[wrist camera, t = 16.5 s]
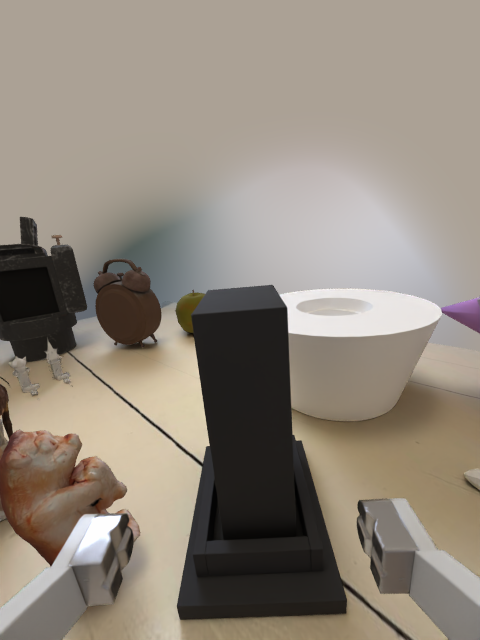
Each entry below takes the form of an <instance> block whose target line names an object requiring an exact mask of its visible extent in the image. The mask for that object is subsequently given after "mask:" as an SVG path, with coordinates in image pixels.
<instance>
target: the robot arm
mask: <svg viewBox="0 0 480 640" xmlns="http://www.w3.org/2000/svg"><path fill="white" fill-rule="evenodd" d="M358 511H359V513H360V516H359V517H358V518H357V529H358V535H359V539H360V542H361V545H362V548H363V550H364V552H365V553H366V554H367V555H368V556H369V557H370V558H371V565H370V569H371V571H372V574H373V576H374V579H375V581H376V584H377V586H378V589H379V591H380V594H409V596H410V597H411V598H412V599H413V600H414V601H415V602H416V604H417V605H418V606H419V607H420V608H421V609H422V610H423V611H424V612H425V614H426V615H427V616H428V617H429V618H430V619H431V620H432V621H433V622H434V624H435V625H436V626H437V627H438V628H439V629H440V630H441V631H442V632H443V634H444V635H445V636H446V637H447V638H448V639H449V640H480V578H479V577H478V576H477V575H475V574H474V573H473V572H472V571H470V570H469V569H468V568H466V567H465V566H464V565H462V564H461V563H460V562H459V561H457V560H456V559H455V558H453V557H452V556H451V555H450V554H448V553H447V552H446V551H444V550H438V548H437V547H436V545H435V544H434V542H433V540H432V539H431V537H430V536H429V534H428V533H427V531H426V529H425V528H424V526H423V525H422V523H421V521H420V520H419V518H418V517H417V515H416V514H415V512H414V510H413V509H412V507H411V506H410V504H409V503H408V501H407V500H406V499H405V498H393V499H387V498H385V499H371V500H359V502H358ZM128 523H129V517H128V514H127V513H115V514H84V515H83V516H82V517H81V518H80V519H79V521H78V522H77V524H76V526H75V527H74V529H73V531H72V532H71V534H70V536H69V537H68V539H67V541H66V542H65V544H64V546H63V547H62V549H61V551H60V553H59V554H58V556H57V558H56V559H55V561H54V563H53V564H52V566H51V567H48V568H45V569H44V570H43V571H42V572H41V573H40V574H39V575H37V576H36V577H35V578H34V579H33V580H32V581H31V582H29V583H28V584H27V585H26V586H25V587H24V588H23V589H21V590H20V591H19V592H18V593H17V594H16V595H15V596H13V597H12V598H11V599H10V600H9V601H8V602H7V603H5V604H4V605H3V606H2V607H1V608H0V640H62V639H63V638H64V637H65V635H66V634H67V633H68V632H69V630H70V629H71V628H72V627H73V625H74V624H75V623H76V622H77V620H78V619H79V618H80V617H81V615H82V614H83V613H84V611H85V610H86V609H87V606H97V605H110V604H114V602H115V599H116V596H117V593H118V590H119V588H120V585H121V582H122V579H123V577H122V573H121V570H122V569H123V568H124V567H125V566H126V565H127V564H128V563H129V560H130V557H131V554H132V549H133V543H134V535H133V531H132V529H131V528H130V527H129V526H127V525H128Z"/></svg>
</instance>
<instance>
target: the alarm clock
mask: <svg viewBox="0 0 480 640" xmlns="http://www.w3.org/2000/svg"><path fill="white" fill-rule="evenodd" d="M113 262H125V263H128V264H129V265H130V266H131V268H132V269H133V270H130V271H128V272H126V273H125V275H124V274H123V273H118V274H117V275H115V274H113V273H107V269H108V266H109V264H111V263H113ZM141 270H142V269H141V267H138V268H137V267H136V266H135V265H134V263H133V262H132V261H130V260H127V259H114V260H109V261H107V262H106V263H105V264H104V267H103V272H101V271H99V272H98V274H99V276H98V277H97V278H96V279H95V281H94V288H95V290H96V292H97V293H98V295H97V299H96V314H97V318H98V320H99V323H100V325H101V327H102V328H103V330H104V331H105V332H106V334H107V335H108V336H109V337H111V338H112V339H113V340H115V341H116V342H115V343H114V344H115V345H117V343H121V344H125V345H131V344H134V343H137V342H139V343H140V344H141V347H144V345H143V343H142V340H144V339H146V338H147V337H149V336H151V337H152V339H153V340H154V342H157V340H156V339H155V337H154V334H153V333H154V332H155V331H156V330H157V329H158V327H159V325H160V322H161V308H160V304H159V302H158V299H157V298H156V296H155V294H154V293H153V291H152V290H151V289H150V278H149V276H148V275H147V274H146V273H144V272H142V271H141ZM118 276H119V277H120V278H119V277H118ZM121 276H123V279H122V278H121Z"/></svg>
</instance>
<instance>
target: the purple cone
mask: <svg viewBox="0 0 480 640" xmlns="http://www.w3.org/2000/svg"><path fill="white" fill-rule="evenodd" d="M441 311H442V313H444V314H445V315H447V316H449V317H451V318H453V319H455V320H456V321H458V322H460V323H462V324H464V325H465V326H468V327H469V328H471V329H473V330H475V331H477V332H478V333H480V296H479V298H476V299H472V300H468V301H465V302H461V303H457V304H454V305H450V306H447V307H443V308H441Z"/></svg>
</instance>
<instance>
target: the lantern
mask: <svg viewBox="0 0 480 640" xmlns="http://www.w3.org/2000/svg"><path fill="white" fill-rule="evenodd" d="M20 228H21V244H14V245H0V339H1V340H3V341H10V343H11V346H12V348H13V351H14V354H15V356H17V358H20V359H23V358H24V357H26V362H27V361H36V360H41V359H45V358H46V357H47V354H46V353H45V352H44V351H47V350H48V341H49V343H50V344H51V346H52V348H53V349H54V350H55V349H57V354H59V353H60V354H62V353H65V352H67V351H69V350H71V349H72V348H74V347H75V346H76V342H75V338H74V334H73V331H72V327H73V326H74V325H76V324H77V320H76V316H75V313H76V312H81V311H85V310H86V309H87V304H86V300H85V296H84V292H83V288H82V284H81V280H80V276H79V272H78V269H77V265H76V261H75V257H74V253H73V249H72V248H71V246H69V245H60V242H59V238H61V237H62V236H61V235H53V236H52V238H56V241H57V244H58V245H55V246H52V247H51V254H52V256H48V255H47V252H46V250H45V249H44V248H42V247H39V246H38V241H37V225H36V223H35V222H34V220H33V219H31V218H27V217H20ZM47 339H48V340H47ZM47 352H48V351H47Z"/></svg>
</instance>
